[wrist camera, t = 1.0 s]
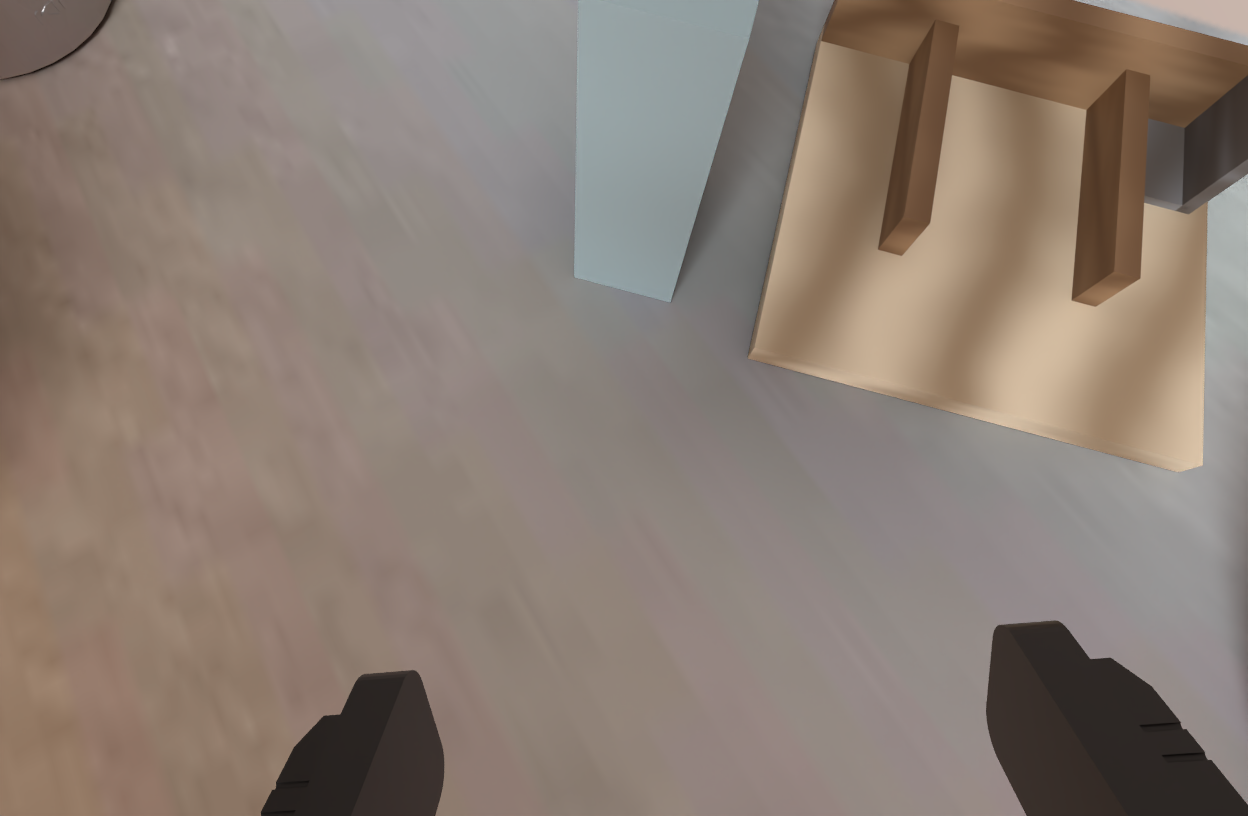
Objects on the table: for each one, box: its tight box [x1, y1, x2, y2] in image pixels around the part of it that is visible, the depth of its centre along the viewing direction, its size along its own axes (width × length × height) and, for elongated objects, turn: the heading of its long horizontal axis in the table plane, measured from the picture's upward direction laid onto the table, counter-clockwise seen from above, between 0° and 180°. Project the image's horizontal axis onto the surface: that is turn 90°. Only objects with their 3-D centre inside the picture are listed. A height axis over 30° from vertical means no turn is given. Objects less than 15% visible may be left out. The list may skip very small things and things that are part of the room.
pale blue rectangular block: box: [574, 0, 759, 302], centre depth 25 cm, size 4×6×14 cm, turn 166°
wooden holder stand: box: [748, 0, 1248, 472], centre depth 25 cm, size 18×16×15 cm
